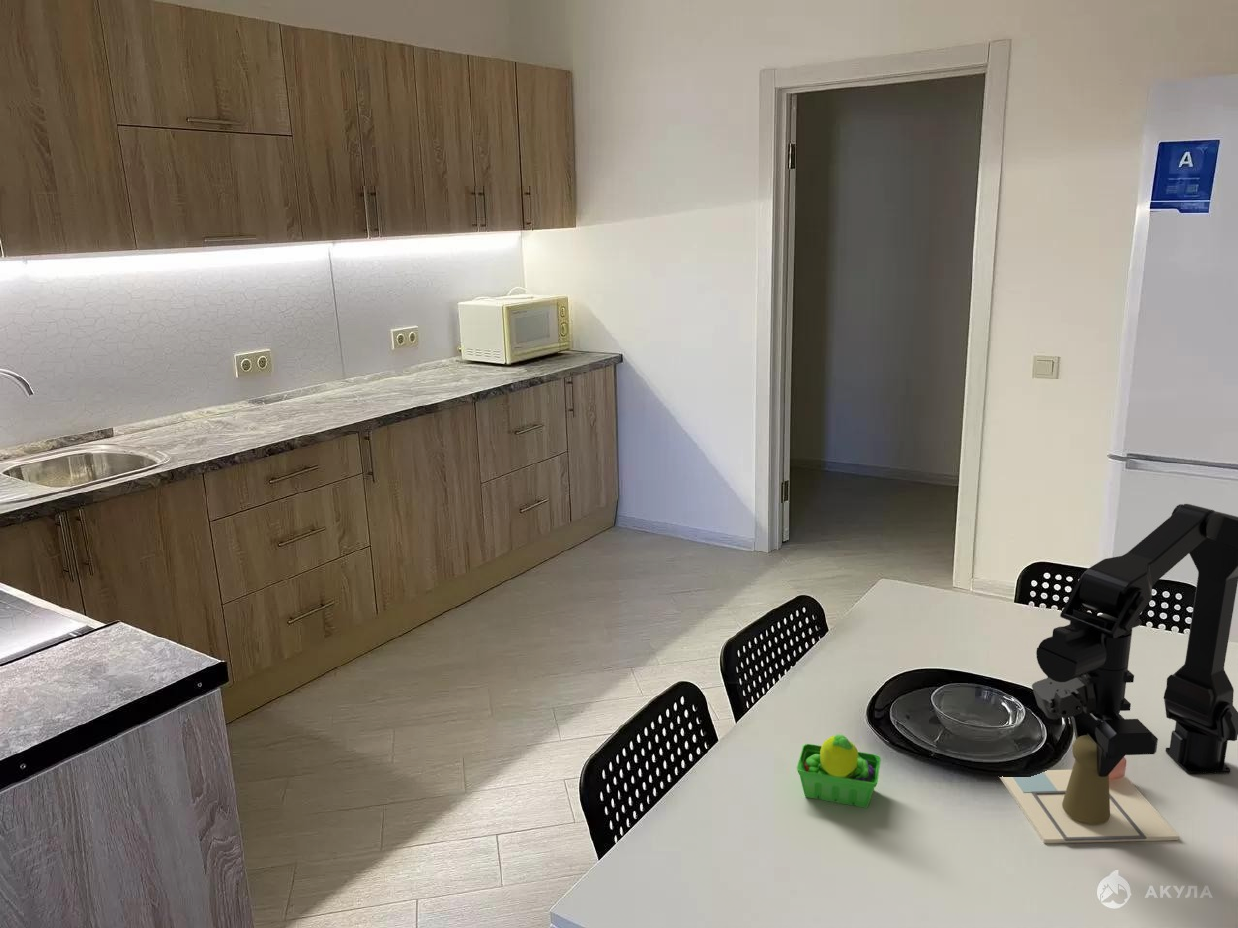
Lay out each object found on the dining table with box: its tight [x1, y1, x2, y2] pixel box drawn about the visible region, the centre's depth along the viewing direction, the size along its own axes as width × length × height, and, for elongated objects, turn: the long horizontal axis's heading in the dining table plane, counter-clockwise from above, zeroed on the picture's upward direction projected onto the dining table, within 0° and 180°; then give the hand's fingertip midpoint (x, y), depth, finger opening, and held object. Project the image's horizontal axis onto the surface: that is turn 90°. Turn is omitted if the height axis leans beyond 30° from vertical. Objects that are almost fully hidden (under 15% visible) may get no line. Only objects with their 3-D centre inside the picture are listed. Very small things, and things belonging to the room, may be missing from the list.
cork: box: [1062, 735, 1110, 824], centre depth 131 cm, size 6×6×11 cm
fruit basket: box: [796, 734, 882, 809], centre depth 138 cm, size 11×9×11 cm
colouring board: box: [999, 769, 1180, 844], centre depth 135 cm, size 18×16×1 cm
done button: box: [1109, 756, 1127, 779], centre depth 140 cm, size 5×5×2 cm
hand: (1092, 764), depth 130 cm, fingers closed on cork, 5 cm apart
